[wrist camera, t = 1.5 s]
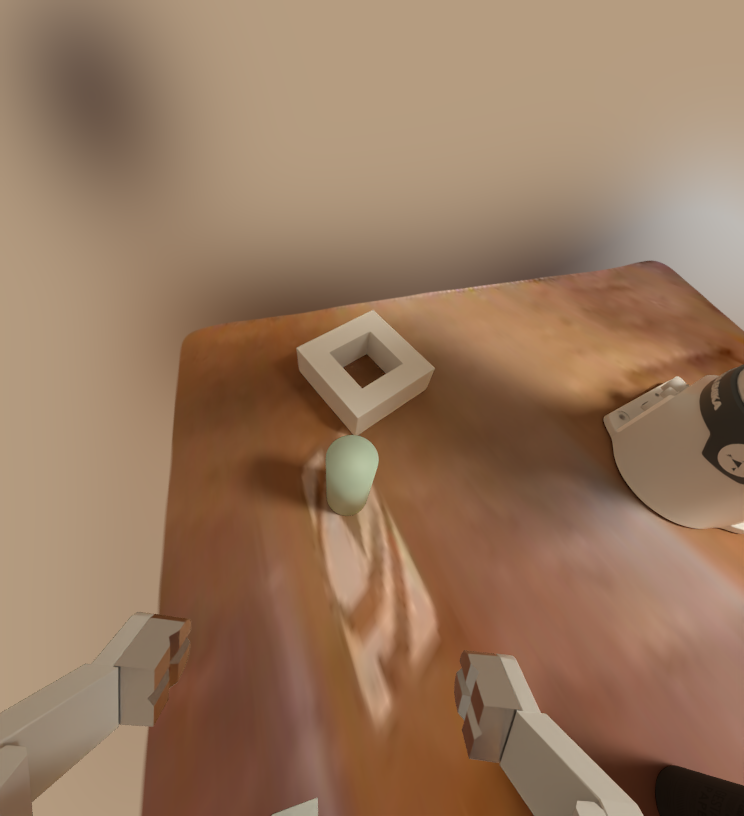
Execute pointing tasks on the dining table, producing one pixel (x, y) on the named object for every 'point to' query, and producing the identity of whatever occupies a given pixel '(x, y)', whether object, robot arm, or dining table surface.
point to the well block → (350, 343)
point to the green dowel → (350, 473)
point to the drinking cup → (697, 794)
